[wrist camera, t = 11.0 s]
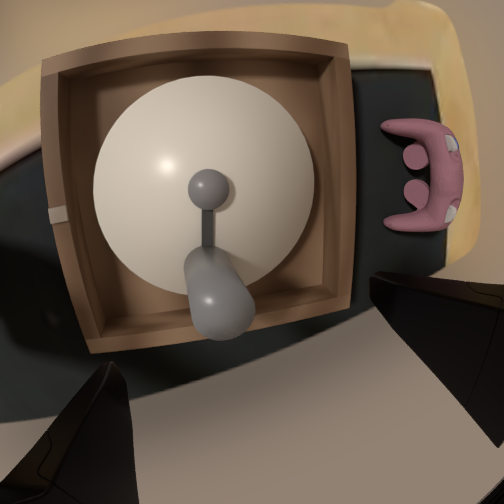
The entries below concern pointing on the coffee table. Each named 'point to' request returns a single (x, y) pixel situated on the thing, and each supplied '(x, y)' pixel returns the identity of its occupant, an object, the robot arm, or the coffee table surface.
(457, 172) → the video game controller
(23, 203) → the coffee table surface
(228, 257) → the dial
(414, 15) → the coffee table surface
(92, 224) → the dial frame
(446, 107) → the coffee table surface
